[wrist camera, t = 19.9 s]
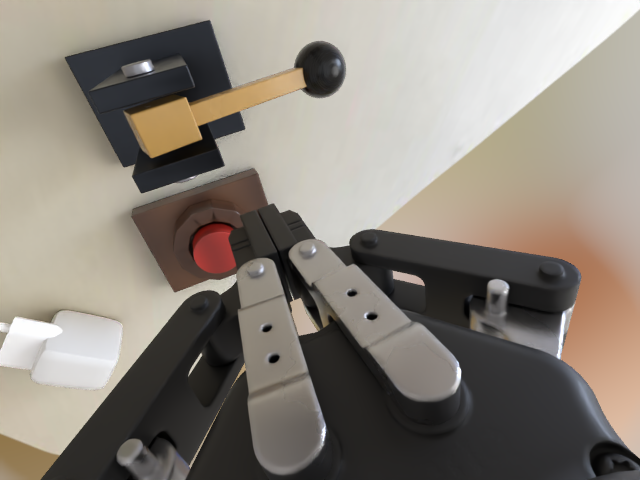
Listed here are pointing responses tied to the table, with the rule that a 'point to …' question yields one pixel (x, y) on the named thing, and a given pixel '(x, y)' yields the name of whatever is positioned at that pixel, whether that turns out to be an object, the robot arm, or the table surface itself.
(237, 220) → the button block
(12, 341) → the power adapter
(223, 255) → the button
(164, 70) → the switch bracket
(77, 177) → the table surface
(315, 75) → the lever
